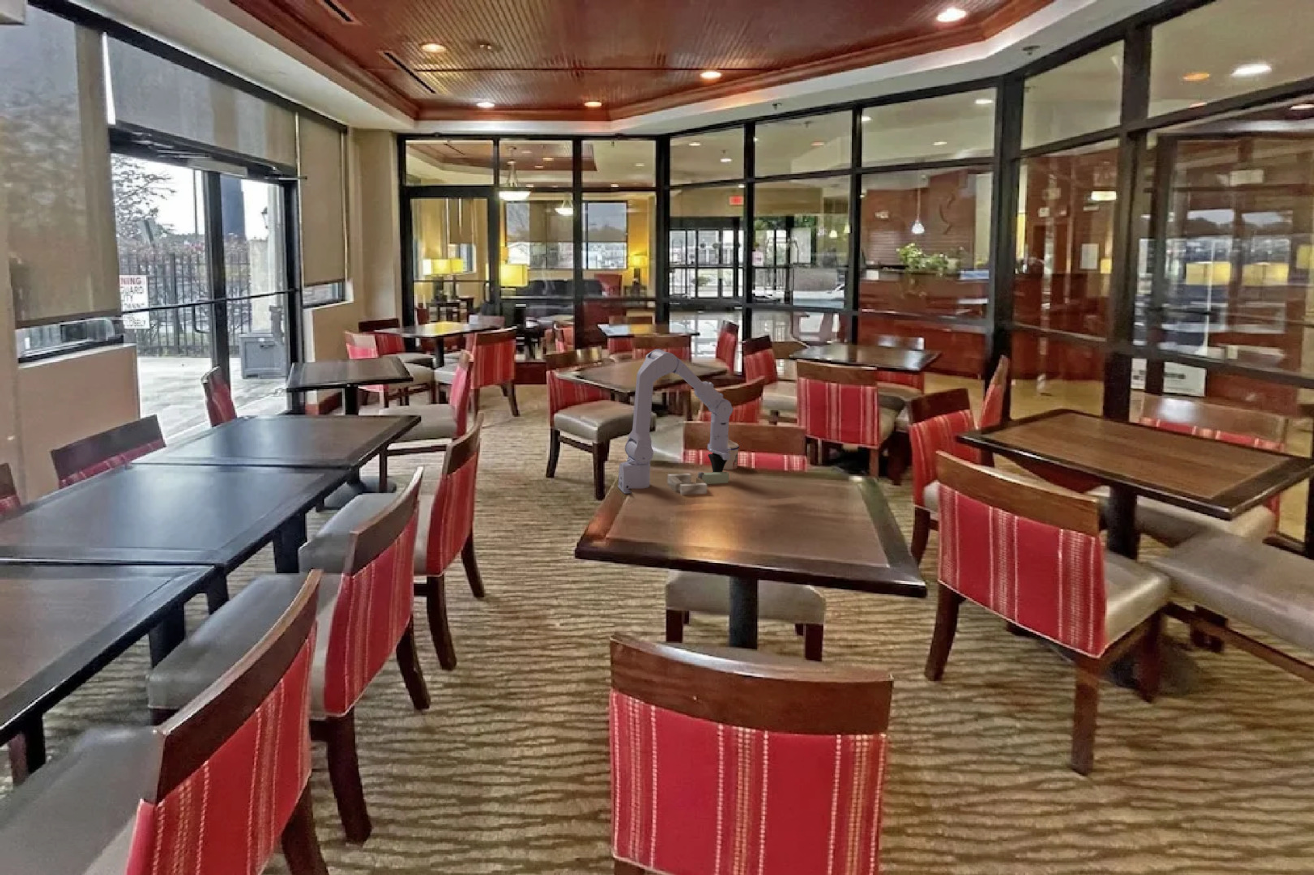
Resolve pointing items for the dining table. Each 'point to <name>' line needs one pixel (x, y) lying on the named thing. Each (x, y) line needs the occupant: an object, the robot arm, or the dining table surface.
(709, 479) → the green rectangular block
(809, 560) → the dining table surface
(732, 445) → the teacup with lid
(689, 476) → the cream shallow tray
